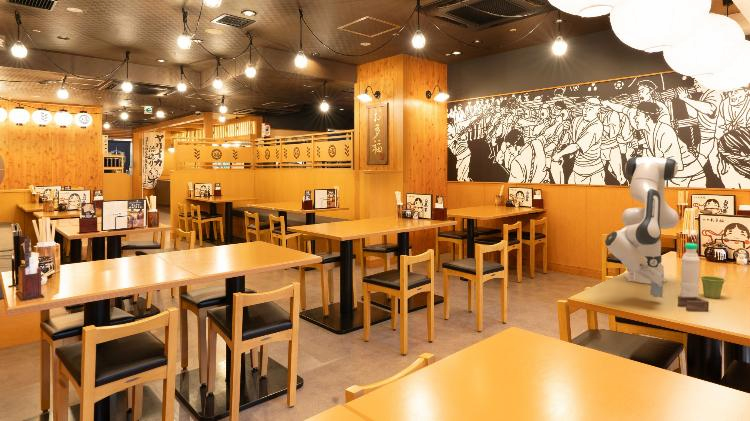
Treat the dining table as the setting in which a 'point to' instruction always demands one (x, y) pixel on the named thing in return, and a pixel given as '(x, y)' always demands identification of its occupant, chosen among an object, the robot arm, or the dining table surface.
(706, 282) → the plant pot
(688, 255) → the water bottle
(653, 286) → the grey tall block
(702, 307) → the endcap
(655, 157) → the robot arm
